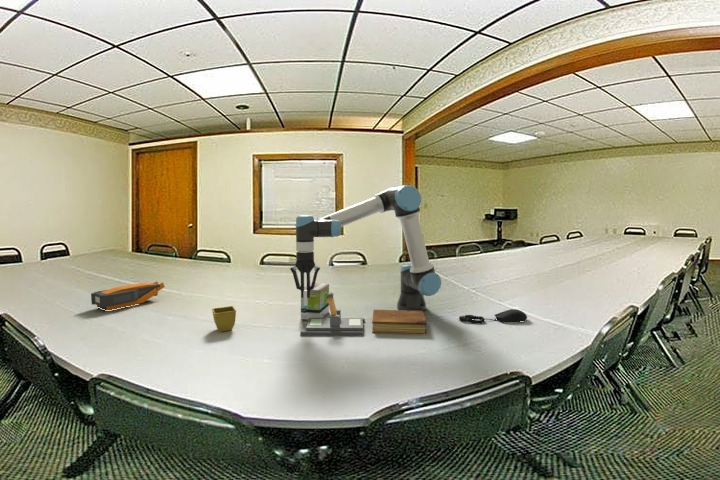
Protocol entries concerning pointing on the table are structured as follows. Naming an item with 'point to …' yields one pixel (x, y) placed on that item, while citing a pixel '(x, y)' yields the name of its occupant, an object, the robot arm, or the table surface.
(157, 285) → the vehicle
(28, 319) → the table surface
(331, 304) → the lever
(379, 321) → the diary
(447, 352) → the table surface
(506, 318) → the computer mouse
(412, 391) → the table surface
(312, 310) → the tea box
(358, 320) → the breaker panel
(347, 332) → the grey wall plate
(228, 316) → the flower pot
